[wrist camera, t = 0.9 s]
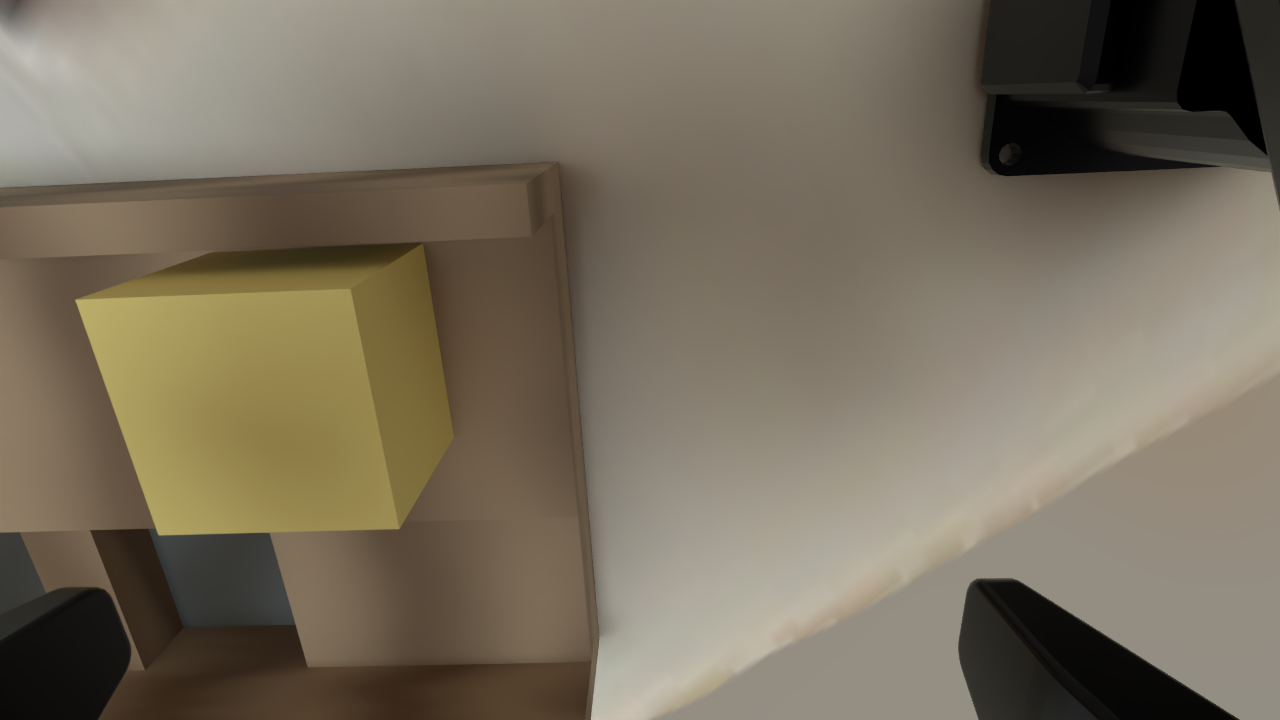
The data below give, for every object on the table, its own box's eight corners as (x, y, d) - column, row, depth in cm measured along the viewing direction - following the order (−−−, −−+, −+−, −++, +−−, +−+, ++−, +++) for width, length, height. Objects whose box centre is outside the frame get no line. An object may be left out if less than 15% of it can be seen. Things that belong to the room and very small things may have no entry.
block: (422, 243, 16) (350, 288, 12) (453, 437, 18) (399, 529, 14) (211, 252, 16) (75, 299, 12) (263, 443, 18) (158, 535, 14)
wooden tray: (558, 161, 17) (521, 186, 12) (599, 638, 22) (584, 778, 18) (-320, 202, 18) (-655, 239, 13) (-78, 652, 23) (-257, 788, 19)
